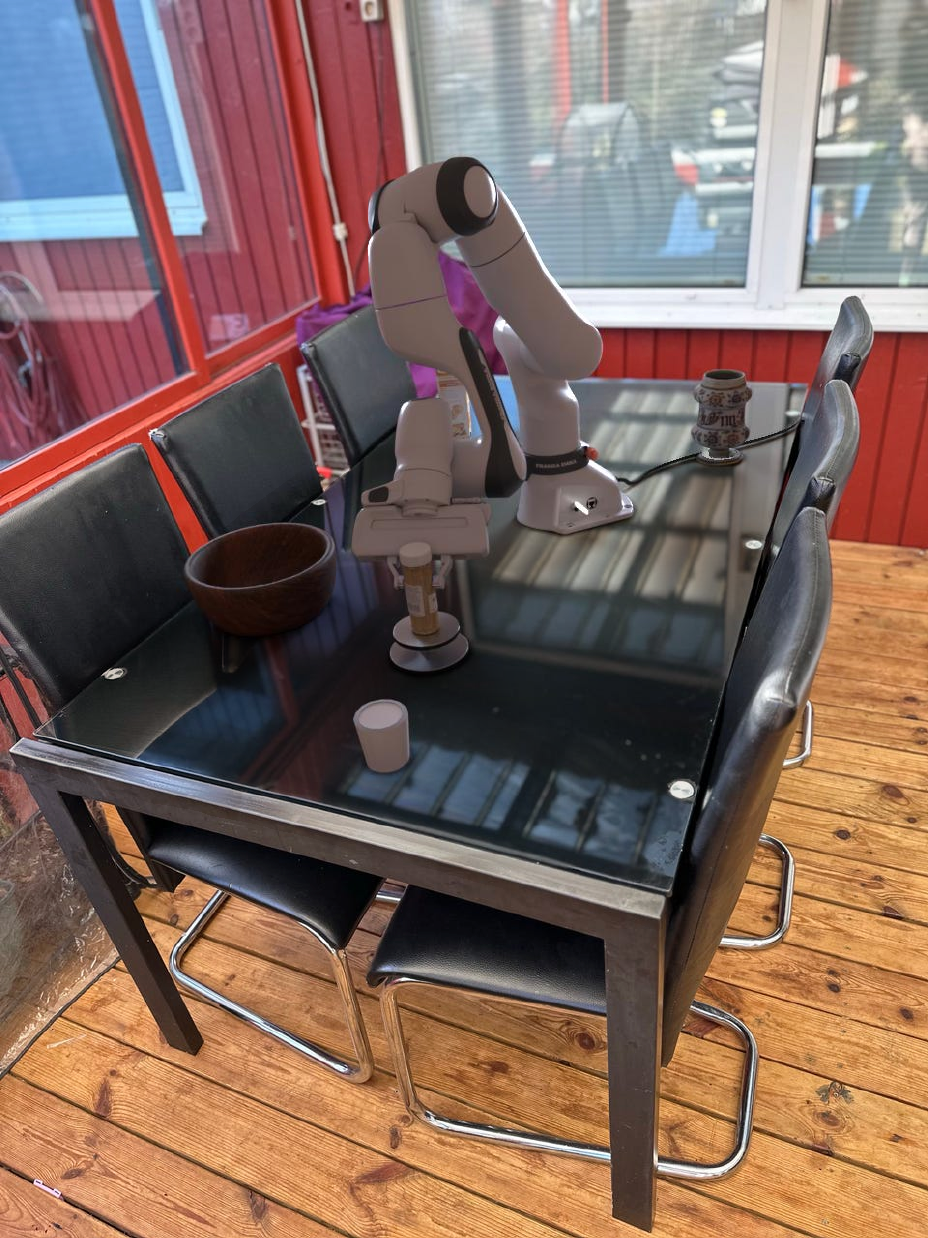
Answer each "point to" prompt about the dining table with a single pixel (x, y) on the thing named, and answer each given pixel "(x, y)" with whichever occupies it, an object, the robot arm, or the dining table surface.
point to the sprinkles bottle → (419, 587)
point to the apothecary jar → (721, 415)
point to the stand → (428, 647)
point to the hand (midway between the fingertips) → (418, 588)
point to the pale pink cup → (383, 734)
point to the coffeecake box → (455, 403)
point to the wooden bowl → (263, 577)
